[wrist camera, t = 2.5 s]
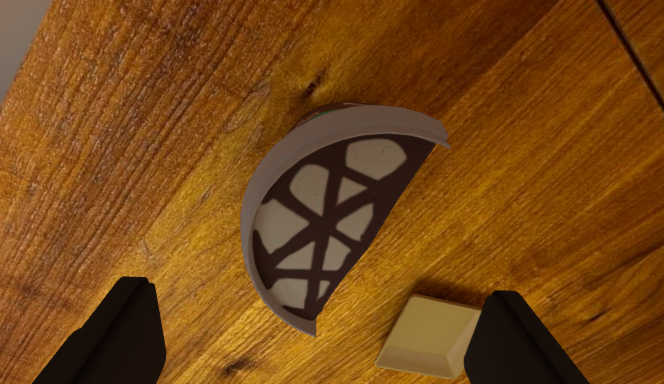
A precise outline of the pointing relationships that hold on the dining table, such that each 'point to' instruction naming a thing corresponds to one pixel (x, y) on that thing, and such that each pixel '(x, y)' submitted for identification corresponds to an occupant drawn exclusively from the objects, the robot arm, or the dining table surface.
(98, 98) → the dining table surface
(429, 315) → the saucer
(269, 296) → the food container
